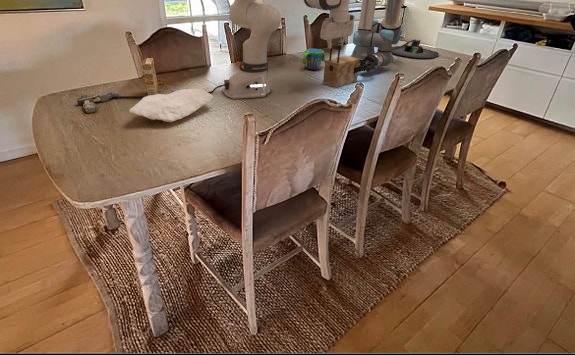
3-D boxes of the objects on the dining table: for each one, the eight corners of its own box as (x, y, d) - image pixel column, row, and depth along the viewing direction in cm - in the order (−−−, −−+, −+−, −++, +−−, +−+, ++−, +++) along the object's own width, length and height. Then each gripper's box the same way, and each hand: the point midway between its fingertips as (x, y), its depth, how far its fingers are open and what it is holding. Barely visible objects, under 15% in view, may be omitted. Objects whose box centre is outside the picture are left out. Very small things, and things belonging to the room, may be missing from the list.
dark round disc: (449, 54, 250) (452, 40, 246) (416, 60, 233) (418, 45, 228) (408, 47, 275) (410, 34, 270) (376, 52, 257) (377, 38, 253)
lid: (337, 66, 179) (340, 47, 174) (324, 62, 185) (325, 43, 180) (359, 61, 189) (362, 42, 184) (345, 57, 195) (347, 39, 190)
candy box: (157, 97, 164) (152, 63, 155) (147, 98, 163) (141, 63, 155) (158, 91, 171) (153, 57, 163) (149, 91, 170) (143, 58, 162)
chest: (336, 87, 185) (338, 66, 180) (322, 82, 191) (324, 62, 185) (356, 81, 195) (359, 61, 189) (343, 77, 200) (345, 57, 195)
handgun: (128, 97, 156) (111, 87, 164) (86, 107, 144) (70, 97, 152) (129, 103, 157) (113, 94, 165) (88, 114, 146) (72, 103, 154)
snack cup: (318, 64, 219) (319, 47, 214) (329, 69, 212) (331, 51, 206) (297, 67, 212) (297, 49, 206) (307, 72, 204) (308, 54, 199)
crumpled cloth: (117, 110, 146) (113, 90, 140) (195, 92, 166) (194, 73, 160) (143, 139, 134) (140, 118, 128) (223, 116, 154) (224, 96, 148)
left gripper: (328, 19, 163) (325, 51, 171) (357, 16, 175) (353, 45, 183) (318, 17, 167) (316, 48, 175) (347, 14, 179) (343, 43, 187)
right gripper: (387, 73, 200) (362, 80, 187) (356, 64, 214) (330, 70, 201) (390, 59, 196) (364, 66, 183) (358, 50, 210) (332, 56, 197)
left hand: (335, 47), depth 179 cm, fingers open, 6 cm apart
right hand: (347, 68), depth 192 cm, fingers closed on chest, 9 cm apart
